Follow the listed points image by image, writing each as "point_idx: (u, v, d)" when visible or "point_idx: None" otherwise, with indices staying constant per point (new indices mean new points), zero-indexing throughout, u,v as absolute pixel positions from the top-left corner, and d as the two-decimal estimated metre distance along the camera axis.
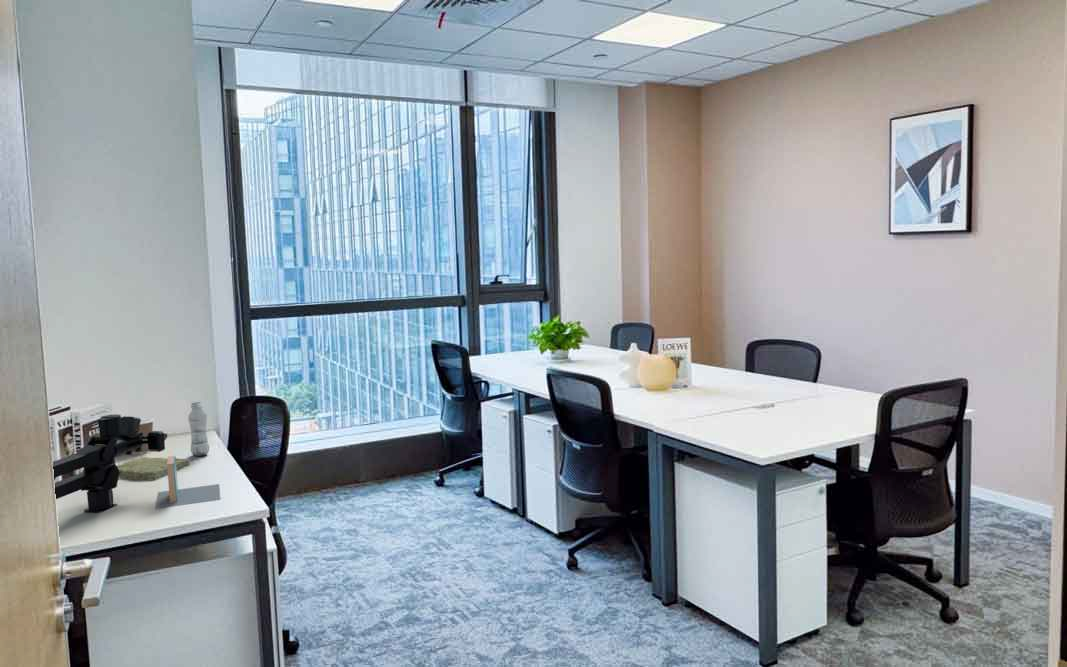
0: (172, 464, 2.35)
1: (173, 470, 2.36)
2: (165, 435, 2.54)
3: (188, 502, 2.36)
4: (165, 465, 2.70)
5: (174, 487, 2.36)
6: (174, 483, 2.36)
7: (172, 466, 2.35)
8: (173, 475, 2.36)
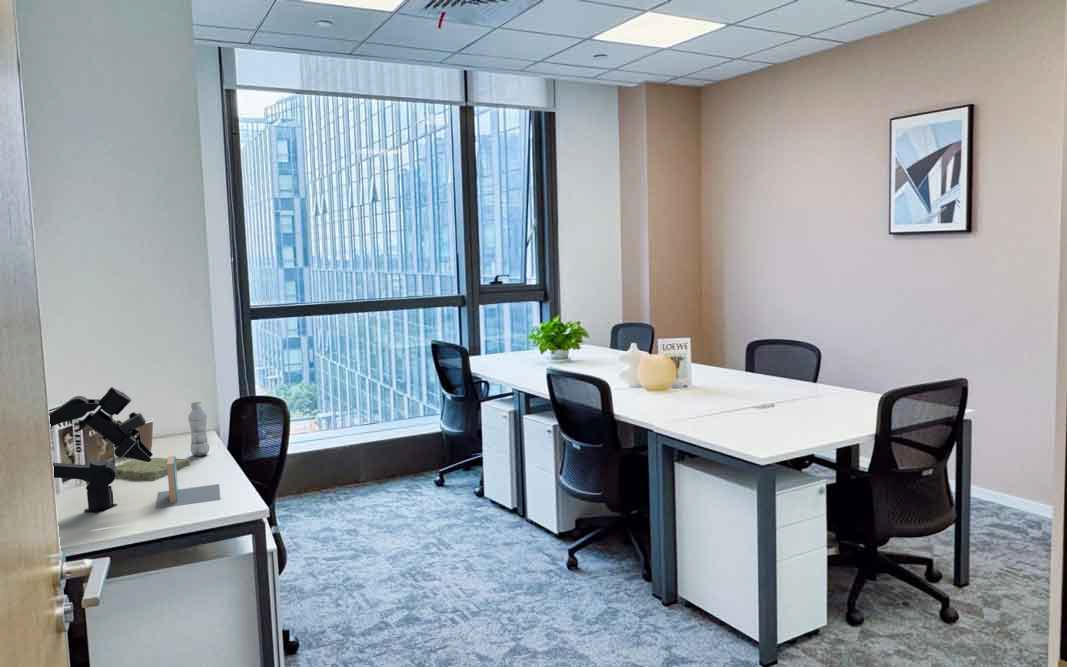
0: (172, 464, 2.35)
1: (173, 470, 2.36)
2: (146, 457, 2.34)
3: (188, 502, 2.36)
4: (165, 465, 2.70)
5: (174, 487, 2.36)
6: (174, 483, 2.36)
7: (172, 466, 2.35)
8: (173, 475, 2.36)
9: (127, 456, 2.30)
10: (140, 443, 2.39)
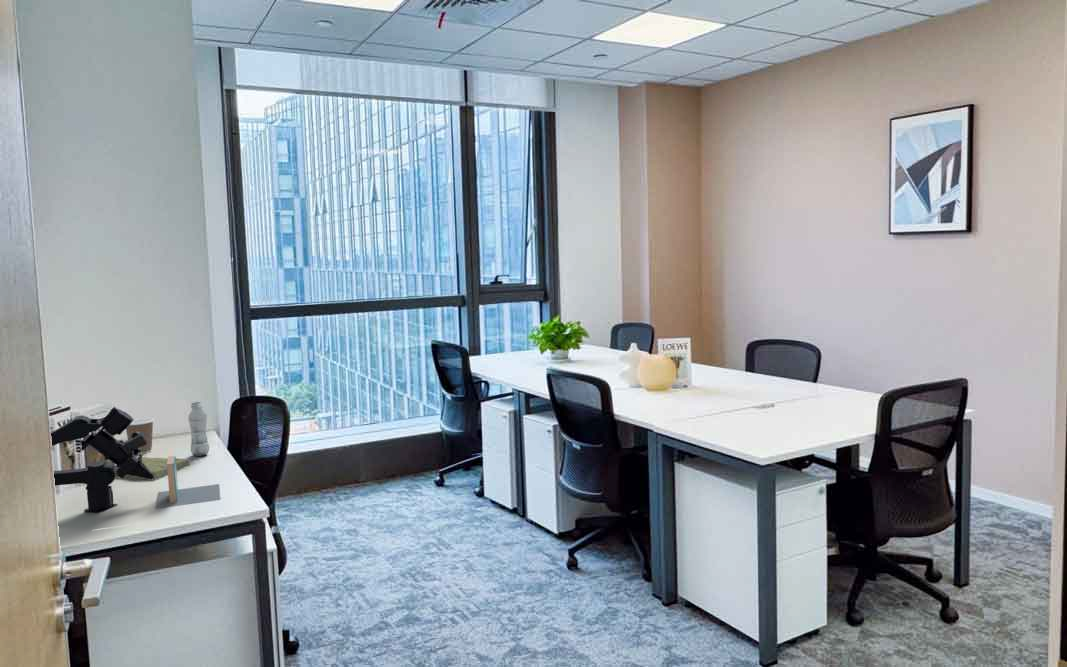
0: (172, 464, 2.35)
1: (173, 470, 2.36)
2: (149, 475, 2.37)
3: (188, 502, 2.36)
4: (165, 465, 2.70)
5: (174, 487, 2.36)
6: (174, 483, 2.36)
7: (172, 466, 2.35)
8: (173, 475, 2.36)
9: (130, 473, 2.34)
10: (141, 465, 2.37)
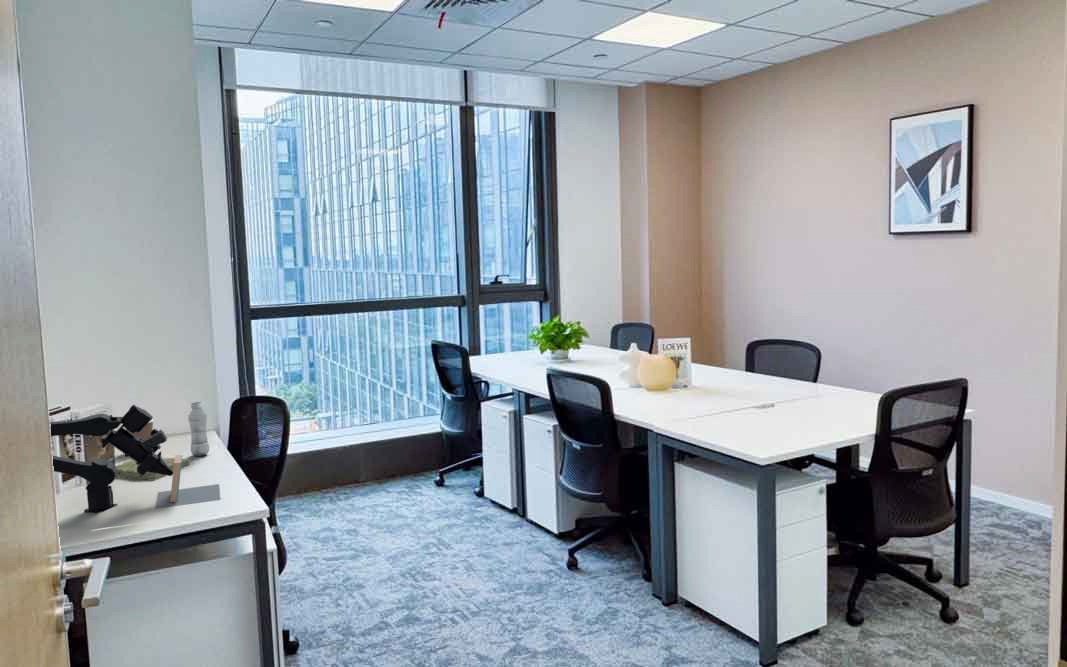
0: (179, 463, 2.36)
1: (179, 470, 2.36)
2: (168, 471, 2.39)
3: (188, 502, 2.36)
4: None
5: (177, 487, 2.36)
6: (177, 483, 2.36)
7: (179, 465, 2.36)
8: (178, 474, 2.36)
9: (150, 470, 2.36)
10: None
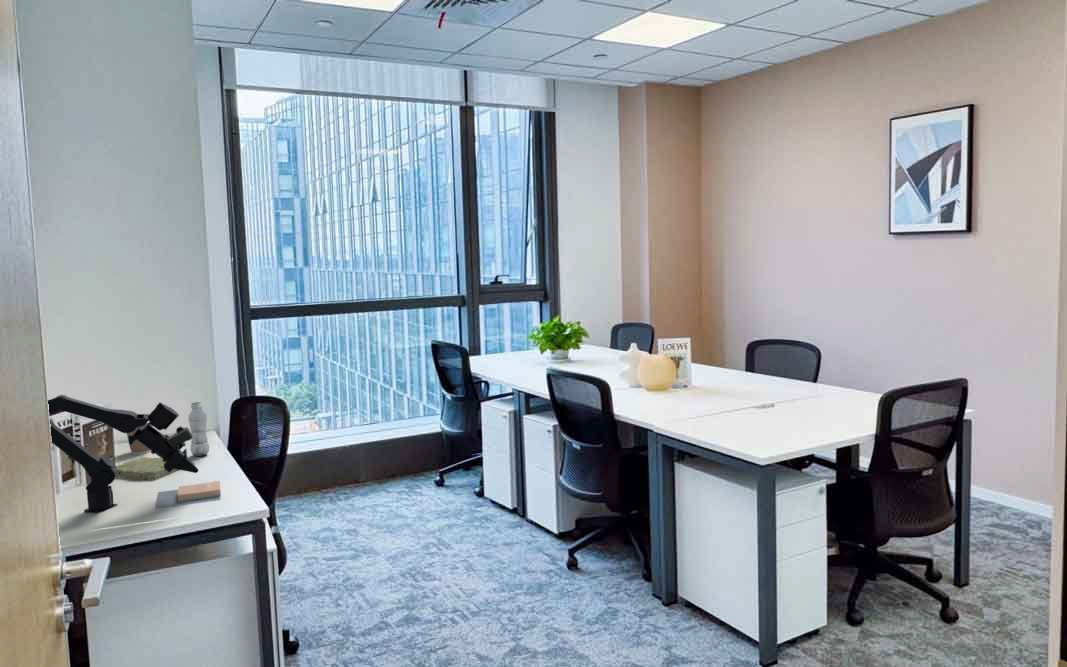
0: (219, 494, 2.41)
1: (212, 495, 2.41)
2: (194, 468, 2.42)
3: (188, 502, 2.36)
4: None
5: (194, 498, 2.39)
6: (198, 497, 2.39)
7: (217, 494, 2.41)
8: (207, 496, 2.40)
9: (176, 467, 2.38)
10: (186, 459, 2.42)
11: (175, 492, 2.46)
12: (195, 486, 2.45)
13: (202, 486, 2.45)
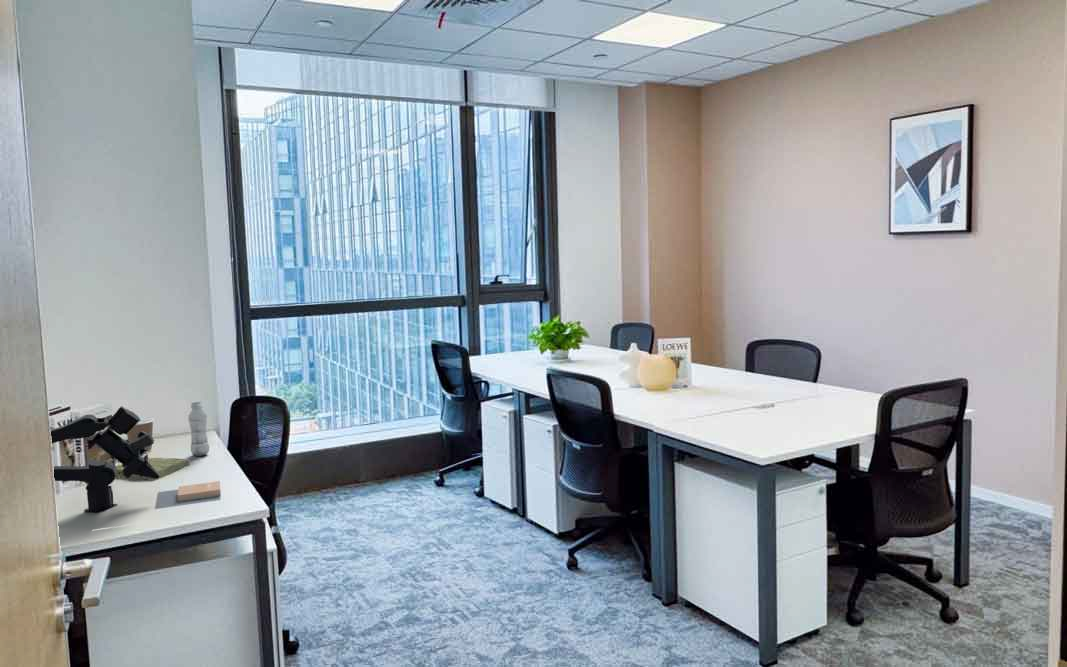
0: (219, 494, 2.41)
1: (212, 495, 2.41)
2: (154, 474, 2.38)
3: (188, 502, 2.36)
4: (165, 465, 2.70)
5: (194, 498, 2.39)
6: (198, 497, 2.39)
7: (217, 494, 2.41)
8: (207, 496, 2.40)
9: (136, 473, 2.34)
10: (147, 465, 2.38)
11: (175, 492, 2.46)
12: (195, 486, 2.45)
13: (202, 486, 2.45)
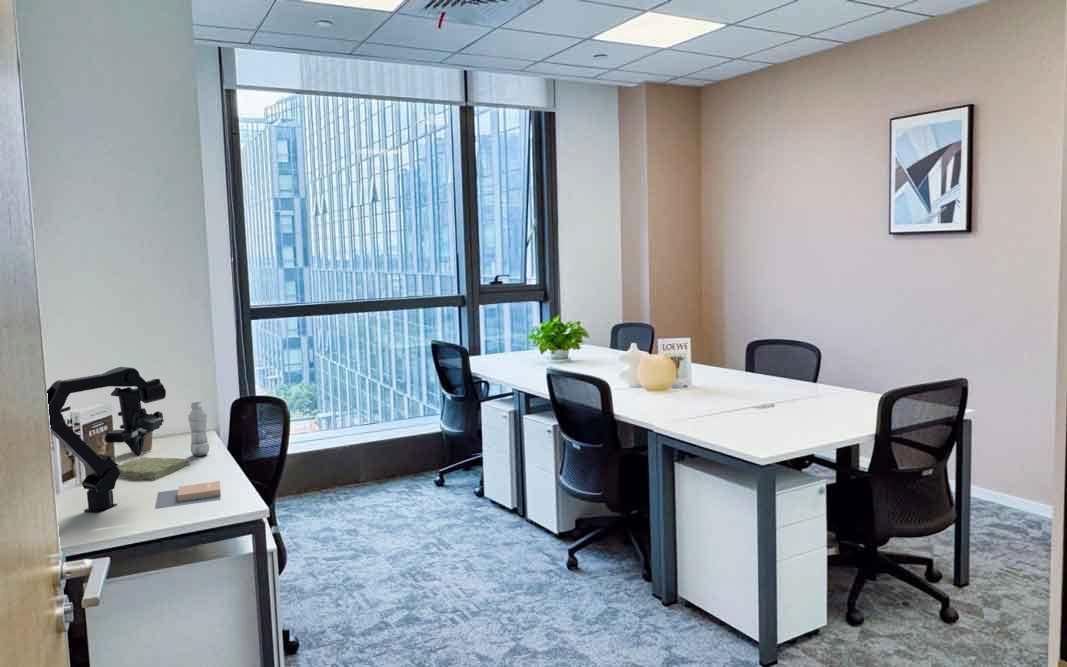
0: (219, 494, 2.41)
1: (212, 495, 2.41)
2: (136, 452, 2.41)
3: (188, 502, 2.36)
4: (165, 465, 2.70)
5: (194, 498, 2.39)
6: (198, 497, 2.39)
7: (217, 494, 2.41)
8: (207, 496, 2.40)
9: None
10: (140, 440, 2.42)
11: (175, 492, 2.46)
12: (195, 486, 2.45)
13: (202, 486, 2.45)
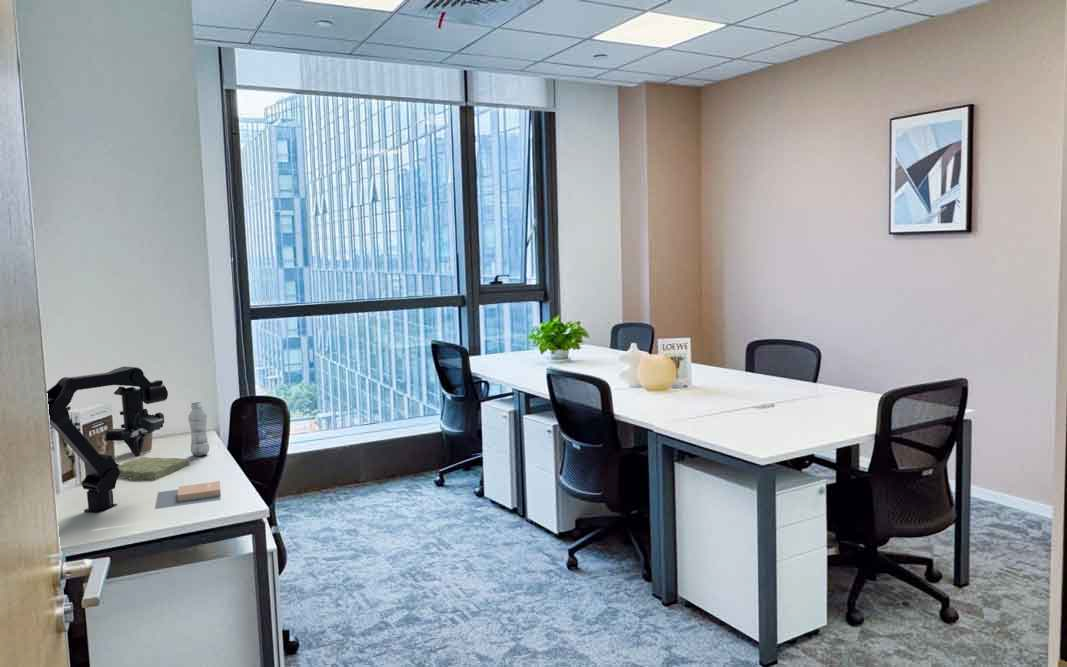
0: (219, 494, 2.41)
1: (212, 495, 2.41)
2: (135, 452, 2.42)
3: (188, 502, 2.36)
4: (165, 465, 2.70)
5: (194, 498, 2.39)
6: (198, 497, 2.39)
7: (217, 494, 2.41)
8: (207, 496, 2.40)
9: None
10: (140, 440, 2.43)
11: (175, 492, 2.46)
12: (195, 486, 2.45)
13: (202, 486, 2.45)
